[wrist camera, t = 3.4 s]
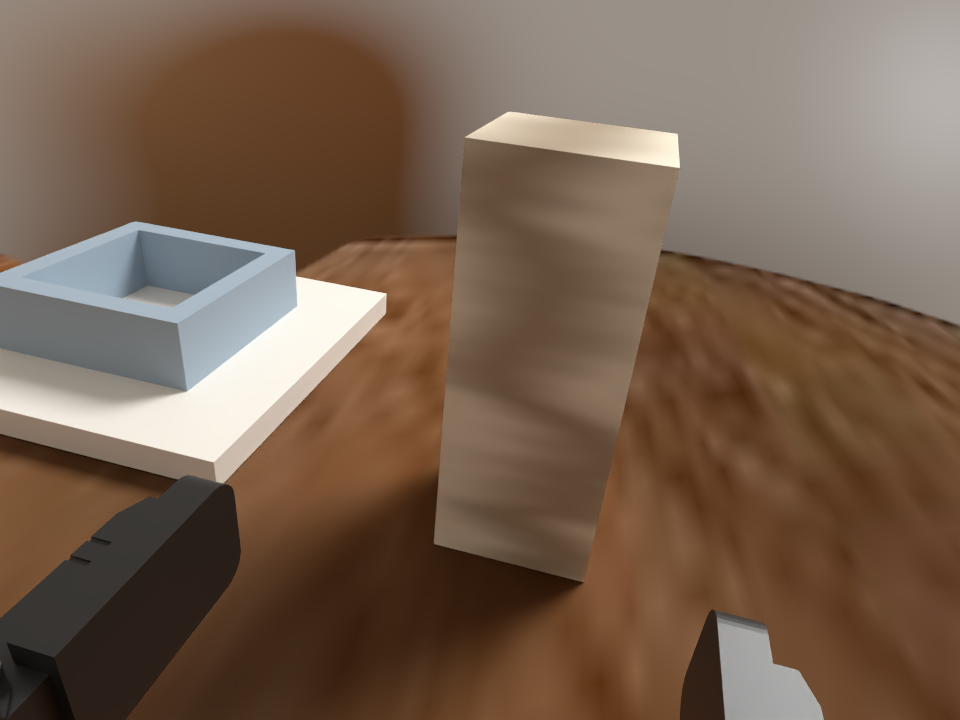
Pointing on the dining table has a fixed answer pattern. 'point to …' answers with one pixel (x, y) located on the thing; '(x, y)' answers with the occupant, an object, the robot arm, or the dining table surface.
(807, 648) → the dining table surface
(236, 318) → the sleeve holder
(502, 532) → the birch post
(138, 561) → the robot arm
